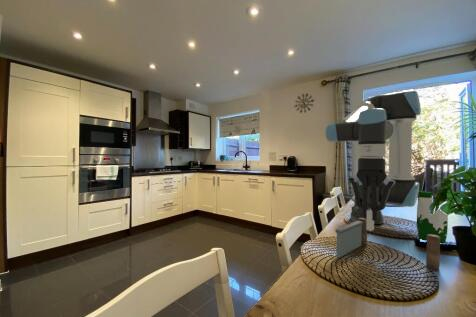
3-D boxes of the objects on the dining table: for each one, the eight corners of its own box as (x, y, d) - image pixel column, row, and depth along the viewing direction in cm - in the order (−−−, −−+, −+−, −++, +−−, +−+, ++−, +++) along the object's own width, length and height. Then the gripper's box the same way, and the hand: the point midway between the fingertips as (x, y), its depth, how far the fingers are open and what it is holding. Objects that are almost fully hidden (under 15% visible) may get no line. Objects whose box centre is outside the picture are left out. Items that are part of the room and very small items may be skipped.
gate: (357, 243, 82) (357, 220, 81) (362, 245, 80) (362, 221, 80) (335, 256, 72) (335, 229, 71) (340, 258, 70) (341, 230, 70)
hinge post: (360, 242, 84) (360, 217, 84) (368, 245, 82) (368, 219, 82) (356, 244, 82) (356, 218, 82) (364, 247, 80) (364, 220, 80)
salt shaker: (364, 232, 95) (364, 206, 95) (349, 231, 96) (350, 205, 96) (359, 228, 101) (359, 203, 100) (345, 227, 102) (346, 202, 102)
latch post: (427, 265, 67) (428, 233, 67) (440, 269, 65) (441, 236, 65) (424, 267, 65) (425, 235, 65) (437, 272, 63) (438, 238, 63)
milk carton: (415, 236, 91) (416, 189, 91) (444, 241, 86) (446, 192, 86) (417, 242, 84) (418, 192, 84) (448, 249, 79) (450, 195, 79)
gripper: (345, 157, 71) (344, 227, 72) (392, 158, 62) (391, 238, 62) (354, 157, 76) (353, 222, 77) (398, 157, 67) (397, 232, 68)
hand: (370, 229), depth 70 cm, fingers closed
